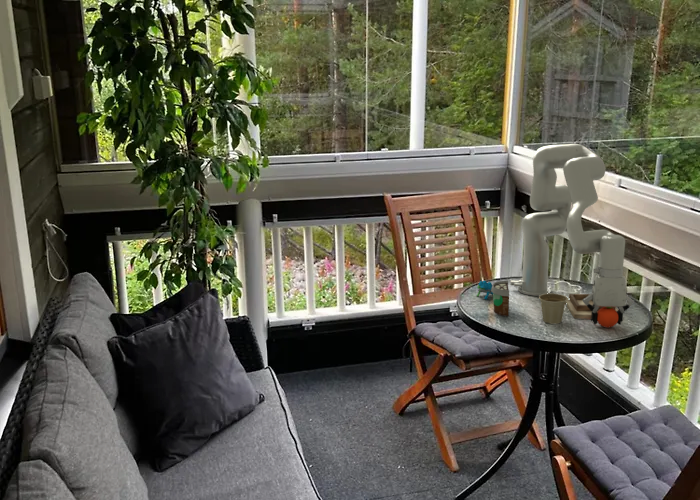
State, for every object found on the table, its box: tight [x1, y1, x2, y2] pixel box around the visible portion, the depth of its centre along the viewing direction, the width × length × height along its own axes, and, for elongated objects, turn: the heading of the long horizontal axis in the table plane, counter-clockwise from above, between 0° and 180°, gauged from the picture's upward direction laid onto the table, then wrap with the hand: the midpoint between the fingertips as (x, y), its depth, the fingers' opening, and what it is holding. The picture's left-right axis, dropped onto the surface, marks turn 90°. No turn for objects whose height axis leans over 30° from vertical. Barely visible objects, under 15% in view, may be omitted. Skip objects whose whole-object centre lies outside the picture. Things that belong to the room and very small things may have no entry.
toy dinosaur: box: [476, 280, 493, 301], centre depth 240 cm, size 11×6×10 cm
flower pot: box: [538, 292, 568, 325], centre depth 214 cm, size 9×9×9 cm
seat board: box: [566, 293, 618, 320], centre depth 225 cm, size 16×20×4 cm
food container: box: [491, 280, 510, 317], centre depth 225 cm, size 12×6×10 cm, turn 168°
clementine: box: [597, 307, 618, 328], centre depth 208 cm, size 8×7×7 cm
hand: (606, 322), depth 209 cm, fingers closed on clementine, 7 cm apart
